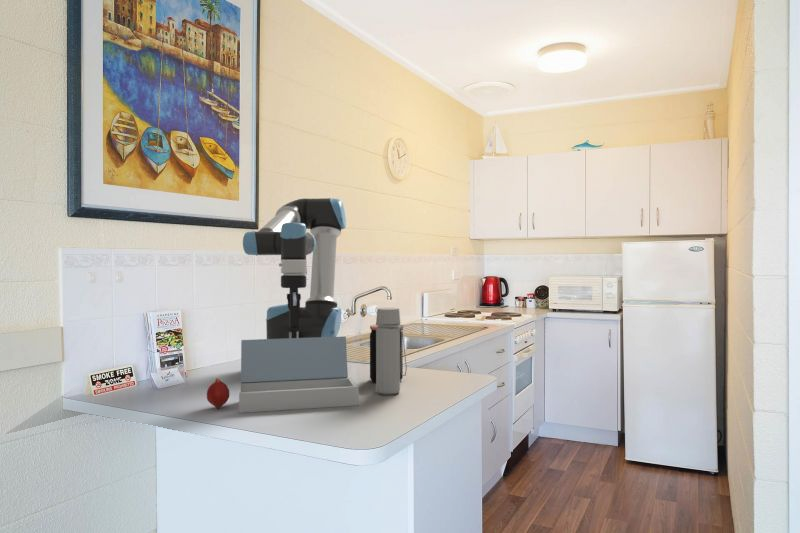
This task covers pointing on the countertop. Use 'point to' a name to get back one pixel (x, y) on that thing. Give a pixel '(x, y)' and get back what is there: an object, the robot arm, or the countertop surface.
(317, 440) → the countertop surface
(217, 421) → the countertop surface
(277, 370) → the cover
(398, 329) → the water bottle
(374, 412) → the countertop surface
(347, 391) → the grey tray
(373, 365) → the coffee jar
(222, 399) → the onion
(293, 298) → the robot arm
